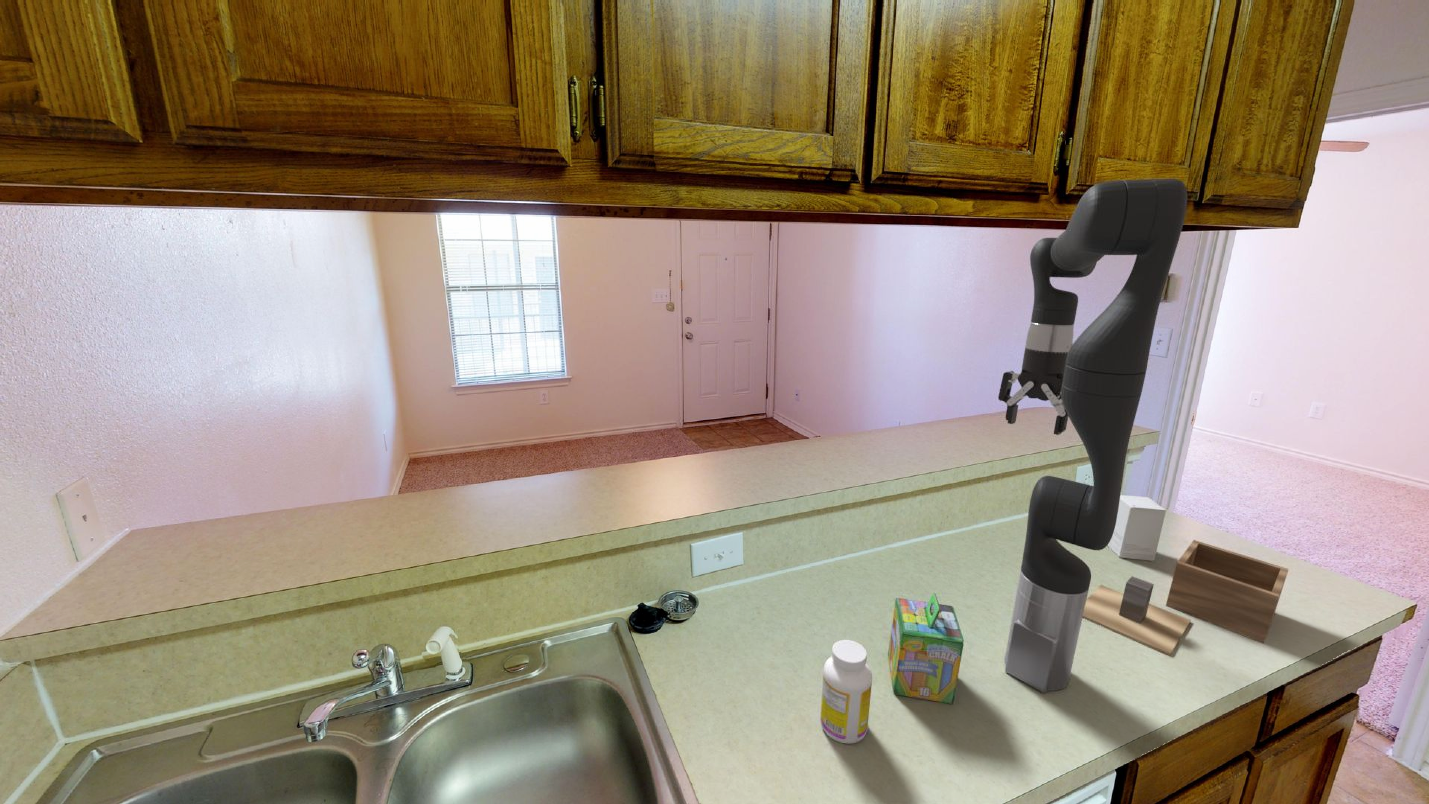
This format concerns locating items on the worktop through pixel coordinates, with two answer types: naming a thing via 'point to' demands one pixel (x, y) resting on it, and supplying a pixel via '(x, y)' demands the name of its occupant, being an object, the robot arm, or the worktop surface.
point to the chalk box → (925, 650)
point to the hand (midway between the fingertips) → (1033, 428)
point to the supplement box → (1137, 528)
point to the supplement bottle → (846, 693)
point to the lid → (1136, 615)
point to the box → (1227, 589)
